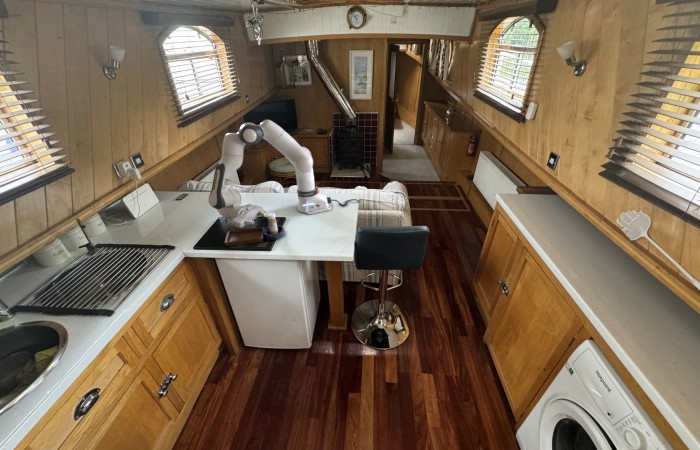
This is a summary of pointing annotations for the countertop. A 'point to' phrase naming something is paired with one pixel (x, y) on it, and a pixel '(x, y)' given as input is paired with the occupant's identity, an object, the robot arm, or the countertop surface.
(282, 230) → the enamel pot
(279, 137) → the robot arm
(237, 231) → the tray
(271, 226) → the sprinkles bottle
